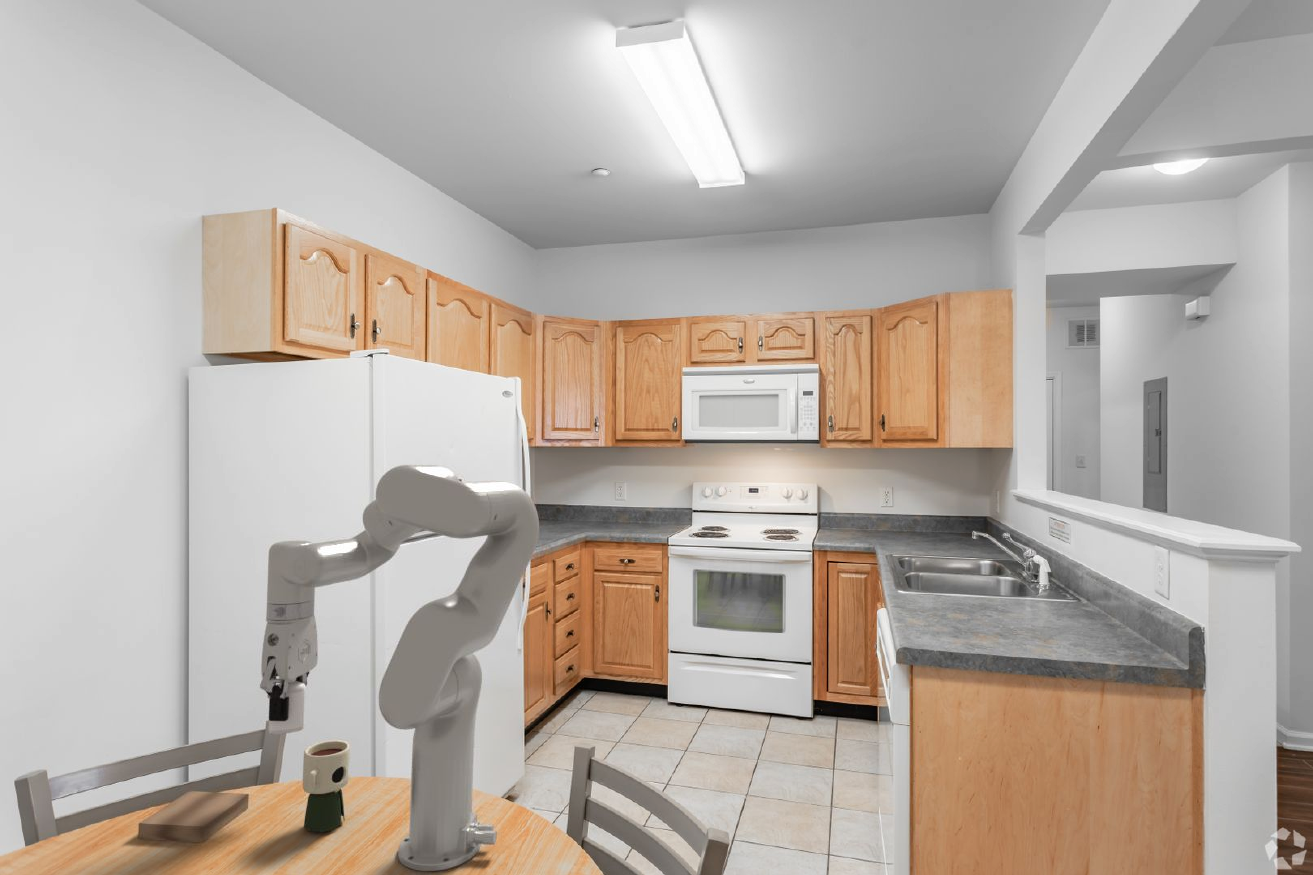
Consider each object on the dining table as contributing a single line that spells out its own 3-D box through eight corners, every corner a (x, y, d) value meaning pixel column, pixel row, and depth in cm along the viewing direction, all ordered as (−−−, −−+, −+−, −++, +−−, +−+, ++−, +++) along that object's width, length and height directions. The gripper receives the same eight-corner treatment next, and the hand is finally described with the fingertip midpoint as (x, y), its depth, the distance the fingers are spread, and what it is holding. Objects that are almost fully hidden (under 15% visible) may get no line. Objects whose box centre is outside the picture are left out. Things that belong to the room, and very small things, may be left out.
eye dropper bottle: (293, 735, 117) (295, 665, 118) (263, 734, 117) (265, 664, 118) (309, 726, 121) (311, 658, 122) (280, 725, 122) (282, 657, 122)
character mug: (329, 844, 109) (333, 762, 109) (285, 843, 109) (289, 761, 109) (359, 810, 120) (362, 735, 120) (319, 809, 120) (322, 735, 120)
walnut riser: (248, 808, 120) (248, 793, 120) (202, 842, 109) (203, 826, 109) (188, 805, 120) (189, 790, 120) (137, 838, 109) (138, 823, 109)
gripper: (282, 621, 112) (278, 734, 111) (336, 602, 128) (332, 700, 128) (238, 620, 112) (234, 732, 111) (297, 601, 129) (294, 698, 128)
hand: (287, 714), depth 119 cm, fingers closed on eye dropper bottle, 4 cm apart
